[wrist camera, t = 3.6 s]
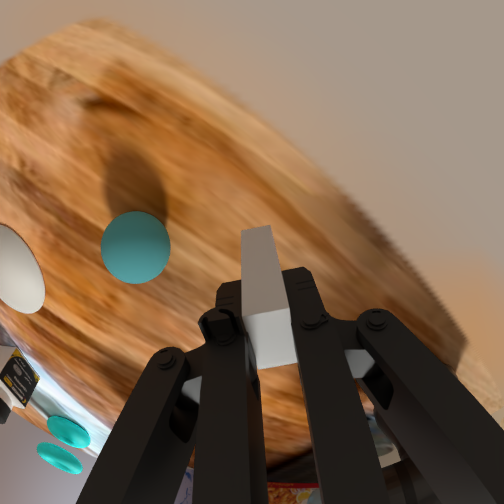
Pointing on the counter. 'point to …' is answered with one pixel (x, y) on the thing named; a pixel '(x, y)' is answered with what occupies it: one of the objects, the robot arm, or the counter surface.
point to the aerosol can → (186, 488)
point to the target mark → (19, 274)
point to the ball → (135, 247)
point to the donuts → (69, 436)
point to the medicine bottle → (15, 380)
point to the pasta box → (290, 492)
